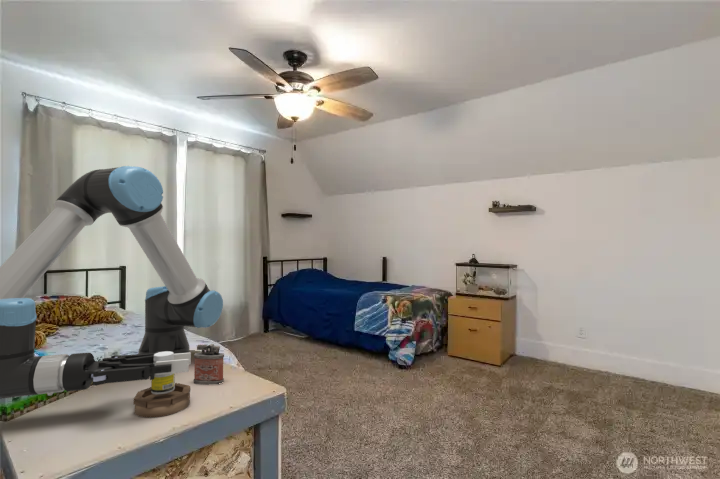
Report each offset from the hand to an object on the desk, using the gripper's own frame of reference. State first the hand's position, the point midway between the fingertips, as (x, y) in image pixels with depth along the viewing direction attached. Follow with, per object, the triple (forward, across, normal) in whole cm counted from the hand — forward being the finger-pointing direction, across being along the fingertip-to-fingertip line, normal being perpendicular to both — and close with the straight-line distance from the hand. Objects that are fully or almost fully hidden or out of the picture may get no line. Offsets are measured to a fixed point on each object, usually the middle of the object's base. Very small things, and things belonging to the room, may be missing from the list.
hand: (189, 361), depth 85 cm
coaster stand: (-5, 0, -10) cm, 11 cm away
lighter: (+4, -13, -10) cm, 17 cm away
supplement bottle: (-5, 0, -6) cm, 8 cm away
